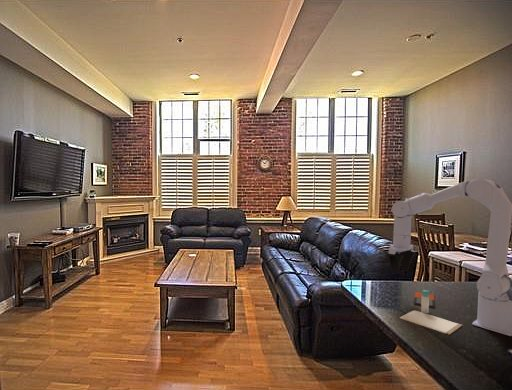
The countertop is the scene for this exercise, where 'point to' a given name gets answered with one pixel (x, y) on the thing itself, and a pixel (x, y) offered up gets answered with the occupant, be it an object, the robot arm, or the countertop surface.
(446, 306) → the countertop surface
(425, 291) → the marker
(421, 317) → the notepad
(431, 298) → the phone
